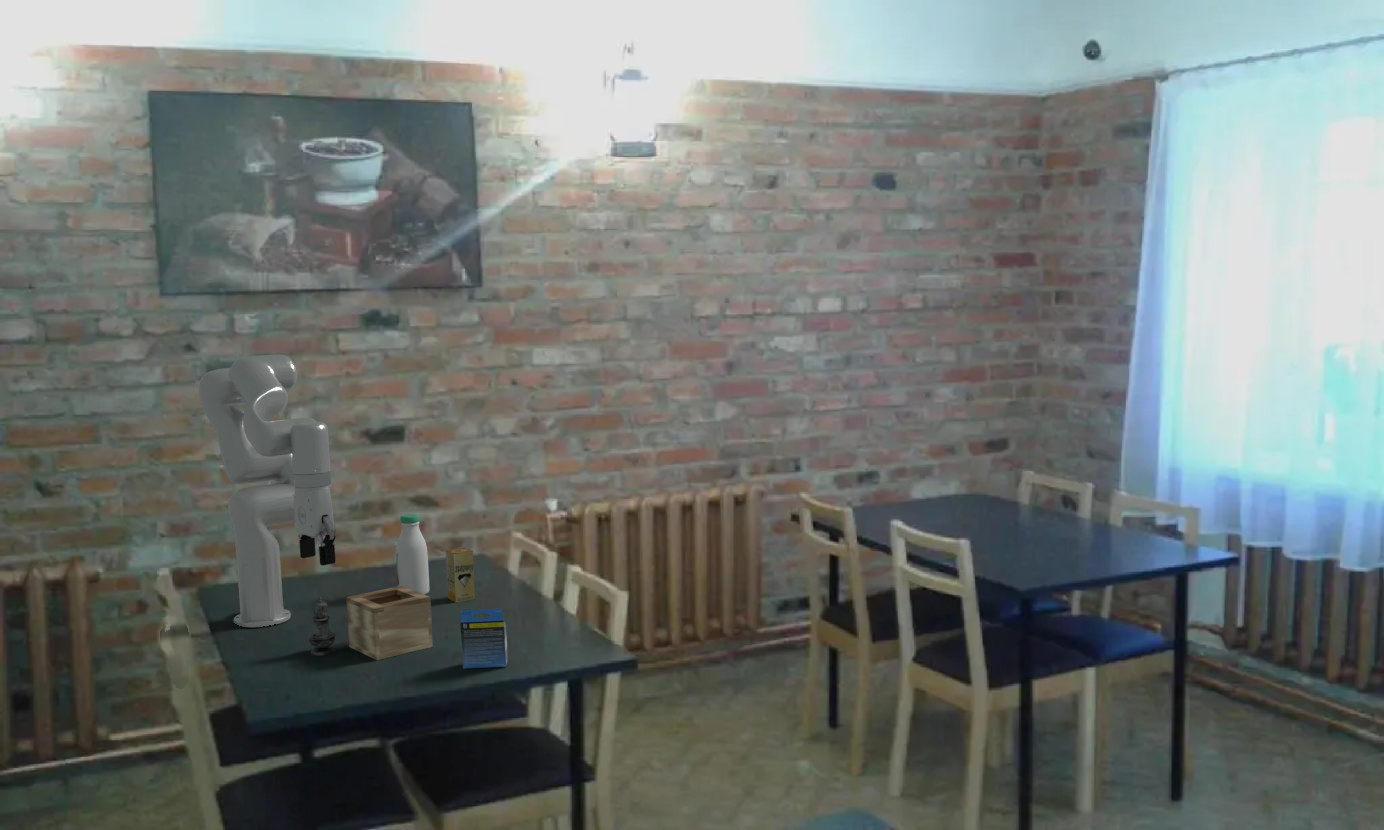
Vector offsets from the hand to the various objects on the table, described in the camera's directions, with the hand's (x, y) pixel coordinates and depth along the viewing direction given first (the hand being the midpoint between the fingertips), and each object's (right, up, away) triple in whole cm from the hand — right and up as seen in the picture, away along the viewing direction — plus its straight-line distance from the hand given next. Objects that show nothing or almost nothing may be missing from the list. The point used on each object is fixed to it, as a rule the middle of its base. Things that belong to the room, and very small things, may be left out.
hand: (317, 560), depth 263 cm
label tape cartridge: (+37, -21, -9) cm, 43 cm away
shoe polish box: (+23, -15, +42) cm, 50 cm away
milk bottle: (+10, -14, +48) cm, 51 cm away
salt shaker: (0, -20, +3) cm, 20 cm away
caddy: (+14, -19, +5) cm, 24 cm away
